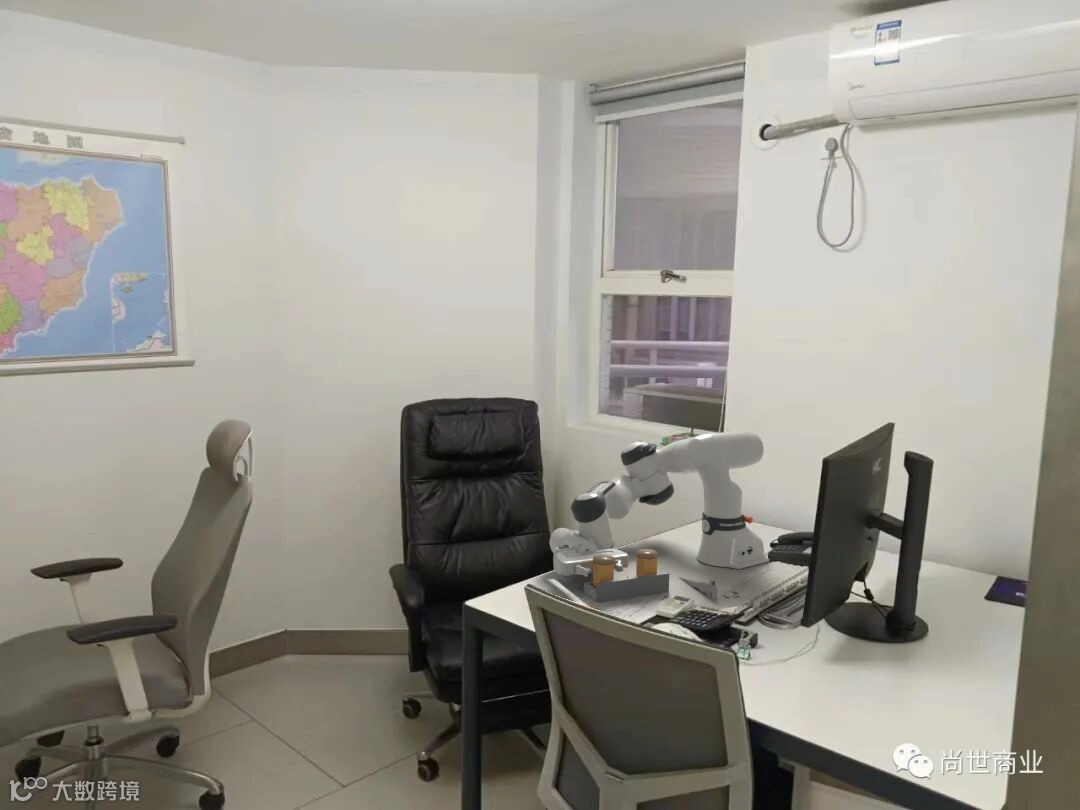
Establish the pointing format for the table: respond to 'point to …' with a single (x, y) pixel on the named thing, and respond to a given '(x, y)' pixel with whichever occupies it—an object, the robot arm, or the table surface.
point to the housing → (628, 587)
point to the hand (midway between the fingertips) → (604, 571)
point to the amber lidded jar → (603, 568)
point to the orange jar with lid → (646, 562)
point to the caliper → (704, 587)
